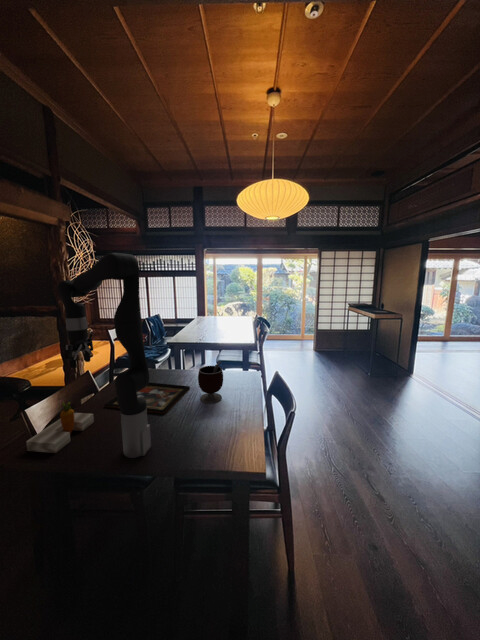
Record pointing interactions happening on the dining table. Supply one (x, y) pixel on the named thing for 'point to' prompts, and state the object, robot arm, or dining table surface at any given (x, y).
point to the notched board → (58, 434)
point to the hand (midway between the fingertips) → (81, 364)
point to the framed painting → (157, 397)
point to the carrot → (67, 418)
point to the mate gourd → (210, 383)
